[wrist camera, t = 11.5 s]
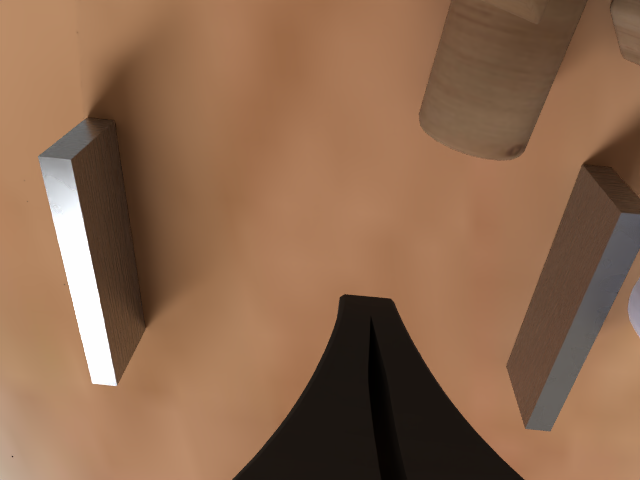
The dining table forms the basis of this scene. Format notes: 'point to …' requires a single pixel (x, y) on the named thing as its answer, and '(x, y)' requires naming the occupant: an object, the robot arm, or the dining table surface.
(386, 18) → the dining table surface
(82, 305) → the pair of rectangular slabs
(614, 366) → the dining table surface
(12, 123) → the dining table surface
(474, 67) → the wooden block set
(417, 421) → the robot arm
